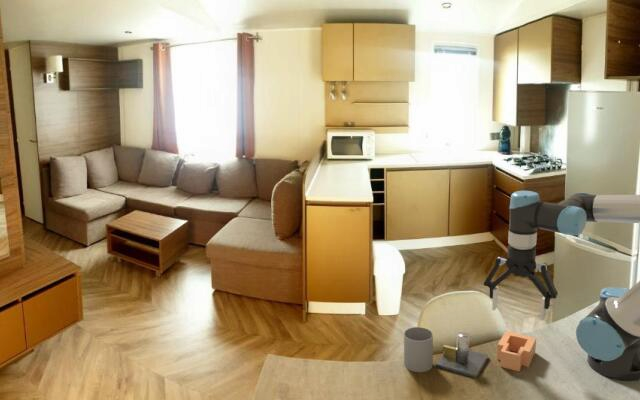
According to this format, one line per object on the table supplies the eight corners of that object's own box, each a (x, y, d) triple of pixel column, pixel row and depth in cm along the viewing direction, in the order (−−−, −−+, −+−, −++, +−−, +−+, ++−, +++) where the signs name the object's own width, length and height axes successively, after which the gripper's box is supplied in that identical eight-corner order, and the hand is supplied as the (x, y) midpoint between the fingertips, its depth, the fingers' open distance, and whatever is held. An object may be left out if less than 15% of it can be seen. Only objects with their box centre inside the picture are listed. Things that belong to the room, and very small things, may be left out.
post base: (488, 357, 161) (489, 330, 159) (476, 378, 152) (477, 349, 149) (449, 348, 168) (450, 322, 165) (435, 366, 158) (435, 339, 156)
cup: (431, 356, 163) (431, 327, 161) (434, 372, 155) (434, 341, 153) (403, 356, 164) (403, 327, 162) (404, 371, 156) (404, 341, 154)
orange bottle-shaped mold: (504, 345, 168) (505, 331, 166) (535, 352, 163) (536, 337, 162) (493, 364, 158) (494, 349, 156) (525, 373, 153) (526, 357, 151)
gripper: (571, 247, 149) (566, 317, 155) (481, 235, 162) (479, 299, 168) (567, 256, 143) (561, 328, 148) (474, 242, 156) (472, 309, 162)
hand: (518, 313), depth 158 cm, fingers open, 13 cm apart
